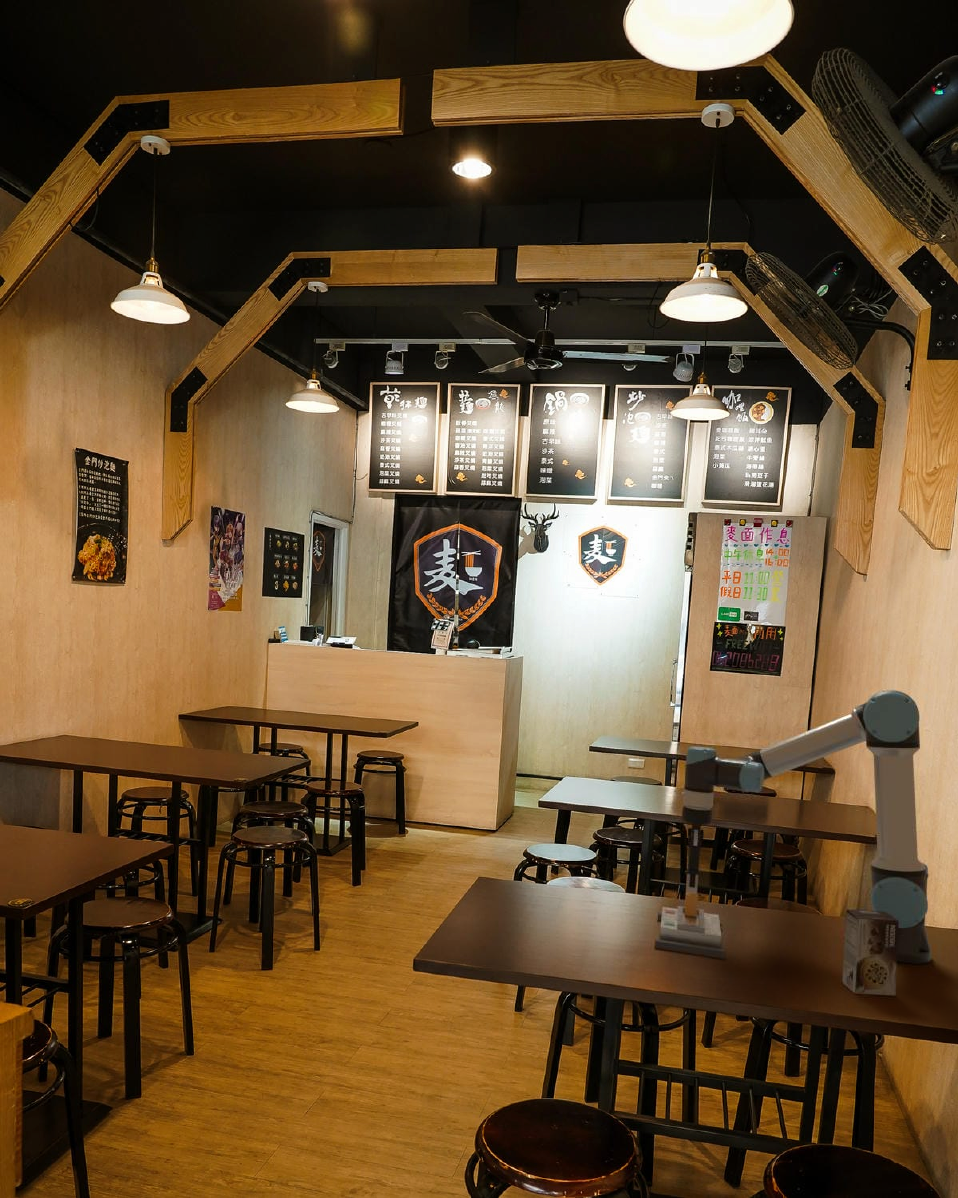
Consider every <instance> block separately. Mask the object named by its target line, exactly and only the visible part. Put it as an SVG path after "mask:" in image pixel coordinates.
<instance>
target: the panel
mask: <svg viewBox="0 0 958 1198" xmlns="http://www.w3.org/2000/svg"><path fill="white" fill-rule="evenodd" d="M684 912H685V906H681V905H677V908H674V907H672V908H671V907H666V906H662V909H661V913H662V917H661V921H660V931H659V939H660V940H666V941H672V942H679V943H685V944H692V945H698V946H705V947H711V948H718V949H722V948H721V946H722V929H720V922H721V921H720V916H719V914H714V913H707V912H705V911H704V909H701V908H697V917H694V916H687V915H684Z"/></svg>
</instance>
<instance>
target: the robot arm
mask: <svg viewBox="0 0 958 1198" xmlns="http://www.w3.org/2000/svg"><path fill="white" fill-rule="evenodd" d="M865 742H866V743H865ZM861 743H865V746H866V748H867V749H868V750H869V751H870V752H871V753H872V755H873V774H874V775H873V776H874V777H873V778H874V801H875V804H874V805H875V823H876V842H877V843H876V846H877V847H876V849H877V851H876V852H877V856H876V857H875V858H874V859H873V860H872V861H871V862H870V871H871V872H870V873H871V874H870V875H871V877H870V878H871V891H870V896H869V897H870V898H869V899H870V904H871V907H872V911H881V912H887V913H888V914H890V915H891V916H893V917H894V918H895V919H897V920H899V928H898V950H897V963H898V962H899V963H906V964H912V965H913V964H915V965H918V964H919V965H920V964H921V965H922V964H927V963H930V962H931V960H932V948H931V945H930V941H929V937H928V934H927V929H926V925H925V924H926V914H927V912H928V910H929V904H928V903H929V902H928V895H927V894H928V878H929V875H930V874H929V870H928V866H927V864H926V863H923V862H921V861H920V860H919V858H918V857H919V856H918V853H919V852H918V837H917V836H918V834H917V815H916V813H917V812H916V789H915V786H916V785H915V768H914V767H915V766H914V764H915V763H914V755H915V754H916V753H917V752H918V751H919V750H920V749H921V744H920V711H919V708H918V706H917V703H916V701H915V700H914V699H913V698H912V697H911V696H910V695H909V694H906V693H905V692H902V691H901V690H893V689H890V690H881V691H879V692H877V693H875V694H873V695H872V696H871V697H869V698H868V701H866V702H864V703H862V704H860V705H858V706H855V707H853V709H852V710H851V713H850V714H846V715H844V716H841V717H839V718H836V719H834V720H831V721H829V722H827V723H826V722H825V723H824V724H822V725H819V726H816V727H814V728H812V729H809V730H807V731H804V732H802V733H799V734H796V735H795V736H792V737H790V738H787V739H784V740H782V741H779V742H777V743H774V744H772V745H770V746H767V747H764V748H762V749H760V750H757V751H754V752H752V753H750V754H746V755H743V756H741V757H740V758H737V759H734V758H724V757H719V756H718V755H717V750H716V749H715V748H713V747H706V746H690V747H688V748H687V751H686V759H685V763H684V765H685V766H684V767H685V768H684V770H685V771H684V786H683V788H684V789H683V791H684V792H681V793H680V795H681V797H683V798H682V799H683V801H682V804H683V805H684V806H683V807H682V811H681V819H682V821H683V822H685V823H688V824H691V827H687V837H688V838H687V839H688V840H687V846H688V847H689V851H688V863H687V870H685V871H684V874H686V887H685V894H686V893H690V894H697V895H698V883H699V874H701V871H702V870H700V869H699V867H700V865H699V864H700V856H701V855H700V854H701V853H700V851H701V849H702V848H703V847H702V846H703V839H704V836H705V835H704V834H705V833H704V829H702V827H701V826H703V825H704V826H709V825H711V824H712V820H713V810H712V808H713V807H714V793H715V792H714V790H715V787H717V788H725V789H730V790H736V791H742V792H745V793H749V792H752V793H760V792H761V791H762V790H763V787H764V781H765V780H768V779H771V778H772V777H776V776H778V775H781V774H784V773H786V772H788V771H791V770H794V769H797V768H798V767H801V766H804V765H806V764H809V763H811V762H815V761H817V760H820V759H822V758H825V757H827V756H830V755H833V754H835V753H838V752H840V751H844V750H846V749H849V748H850V747H853V746H856V745H858V744H861Z"/></svg>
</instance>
